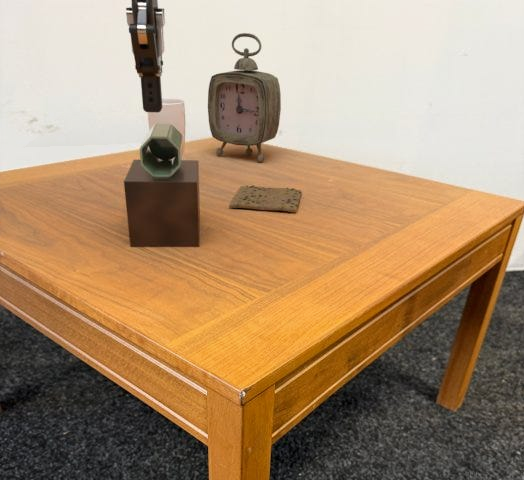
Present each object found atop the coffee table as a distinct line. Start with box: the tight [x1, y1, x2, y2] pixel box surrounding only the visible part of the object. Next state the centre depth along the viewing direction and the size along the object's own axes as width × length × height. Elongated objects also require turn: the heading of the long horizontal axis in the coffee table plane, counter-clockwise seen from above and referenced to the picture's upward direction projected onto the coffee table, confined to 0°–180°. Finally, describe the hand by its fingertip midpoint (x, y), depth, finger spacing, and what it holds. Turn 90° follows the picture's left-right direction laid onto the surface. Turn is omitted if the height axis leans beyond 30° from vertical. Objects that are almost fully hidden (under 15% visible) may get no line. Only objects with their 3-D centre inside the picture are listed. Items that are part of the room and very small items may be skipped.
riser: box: [123, 159, 201, 247], centre depth 83 cm, size 10×12×10 cm
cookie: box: [228, 185, 303, 214], centre depth 100 cm, size 12×12×1 cm
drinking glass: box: [147, 97, 186, 160], centre depth 103 cm, size 7×7×15 cm
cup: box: [139, 123, 183, 178], centre depth 79 cm, size 9×6×6 cm, turn 5°
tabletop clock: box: [207, 32, 282, 163], centre depth 121 cm, size 14×9×25 cm, turn 64°
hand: (153, 111), depth 67 cm, fingers closed
